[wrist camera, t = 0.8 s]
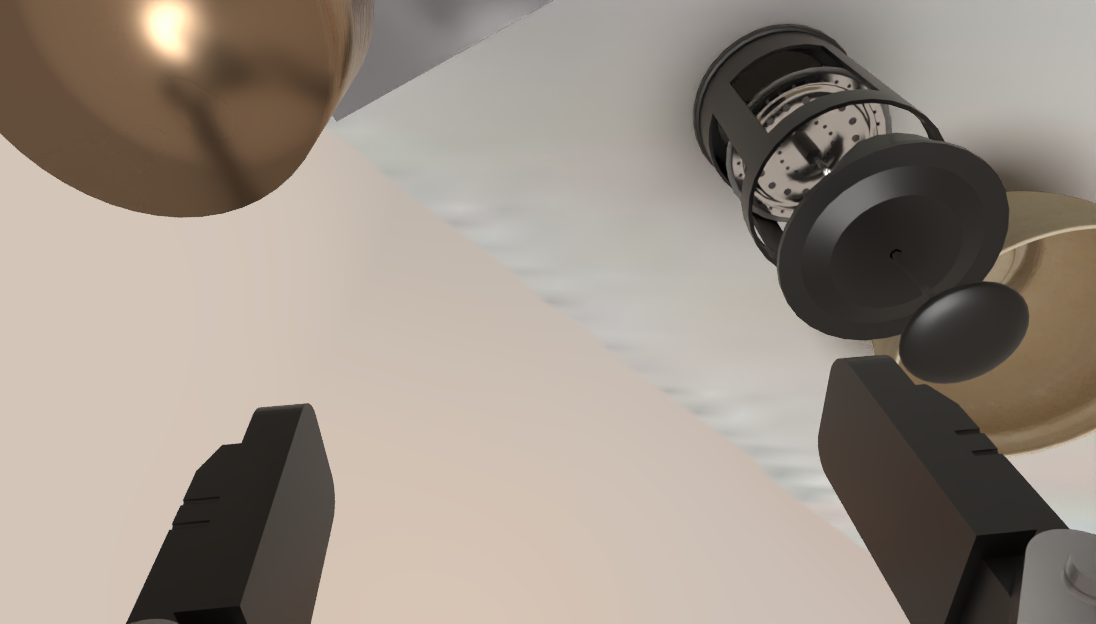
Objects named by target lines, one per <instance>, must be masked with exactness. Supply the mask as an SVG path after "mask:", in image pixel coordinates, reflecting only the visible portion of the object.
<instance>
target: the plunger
mask: <svg viewBox="0 0 1096 624" xmlns="http://www.w3.org/2000/svg"><path fill="white" fill-rule="evenodd" d="M373 21H374V0H0V133H1V134H2V135H3V136H4V137H5V138H6V139H7V140H8V141H9V142H10V143H11V144H12V145H14V146H15V147H16V148H17V149H18V150H19V151H20V152H21V153H22V154H24V155H25V156H27V157H28V158H29V159H30V160H32V161H33V162H34V163H36V164H37V165H38V166H39V167H41V168H42V169H44V170H45V171H47V172H48V173H50V174H51V175H53V176H54V177H56V178H58V179H59V180H61V181H62V182H64V183H66V184H68V185H70V186H72V187H74V188H75V189H77V190H79V191H81V192H83V193H85V194H87V195H89V196H92V197H94V198H97V199H99V200H102V201H104V202H106V203H109V204H112V205H115V206H118V207H122V208H125V209H128V210H132V211H136V212H141V213H147V214H151V215H157V216H168V217H203V216H209V215H216V214H222V213H226V212H229V211H232V210H236V209H239V208H242V207H245V206H247V205H249V204H251V203H253V202H256V201H258V200H260V199H262V198H263V197H265V196H266V195H268V194H269V193H271V192H273V191H274V190H276V189H277V188H278V187H279V186H280V185H282V184H283V183H284V182H285V181H286V180H287V179H288V178H289V177H291V176H292V174H293V173H294V172H295V171H296V170H297V168H298V167H299V166H300V165H301V163H302V162H303V161H304V160H305V158H306V156H307V155H308V153H309V151H310V150H311V148H312V147H313V145H314V143H315V142H316V140H317V138H318V137H319V135H320V134H321V132H322V130H323V129H324V127H325V126H326V124H327V122H328V121H329V119H330V117H331V116H332V114H333V113H334V111H335V109H336V108H337V106H338V104H339V103H340V101H341V100H342V98H343V96H344V95H345V93H346V92H347V90H348V88H349V87H350V85H351V83H352V82H353V80H354V78H355V77H356V75H357V73H358V72H359V70H360V68H361V66H362V64H363V61H364V59H365V56H366V54H367V52H368V48H369V44H370V40H371V36H372V31H373Z"/></svg>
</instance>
